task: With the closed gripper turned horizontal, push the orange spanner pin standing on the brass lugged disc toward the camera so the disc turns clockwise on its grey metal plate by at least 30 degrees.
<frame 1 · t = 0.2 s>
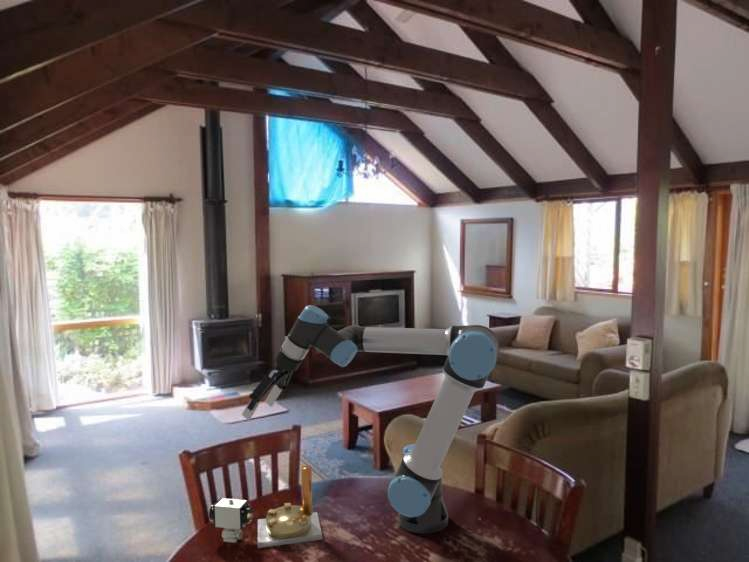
hand: (257, 410, 156), 35 cm above the table, tool tilted 35°, fingers open, 13 cm apart
brass lugged disc: (289, 497, 152), point 10 cm above the table, hinge at 0.0°
flange plate: (289, 531, 153), on the table
pneumatic valve: (233, 539, 150), on the table
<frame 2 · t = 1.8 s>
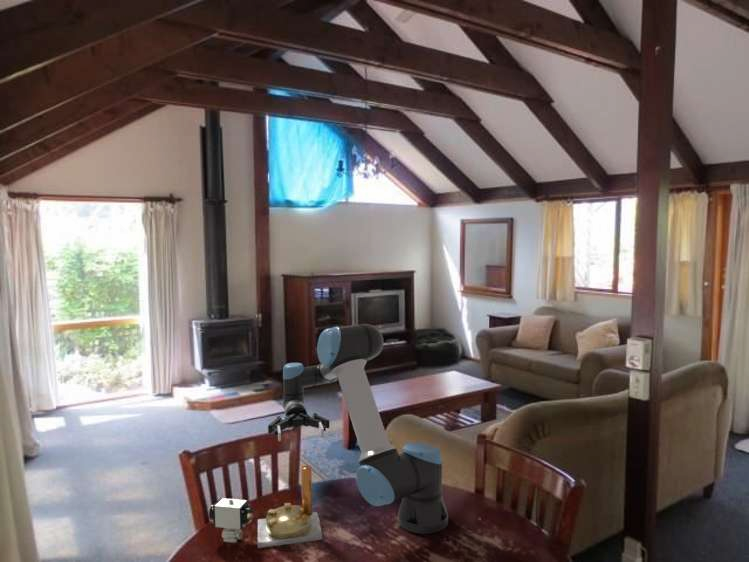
hand: (301, 435, 165), 24 cm above the table, tool horizontal, fingers open, 13 cm apart
nothing on the table moved.
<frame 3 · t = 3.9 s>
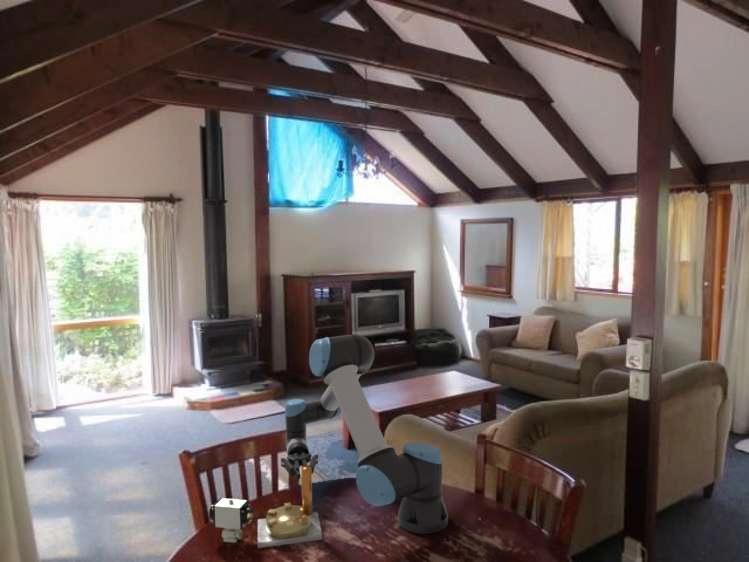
hand: (303, 480, 162), 11 cm above the table, tool horizontal, fingers closed
nothing on the table moved.
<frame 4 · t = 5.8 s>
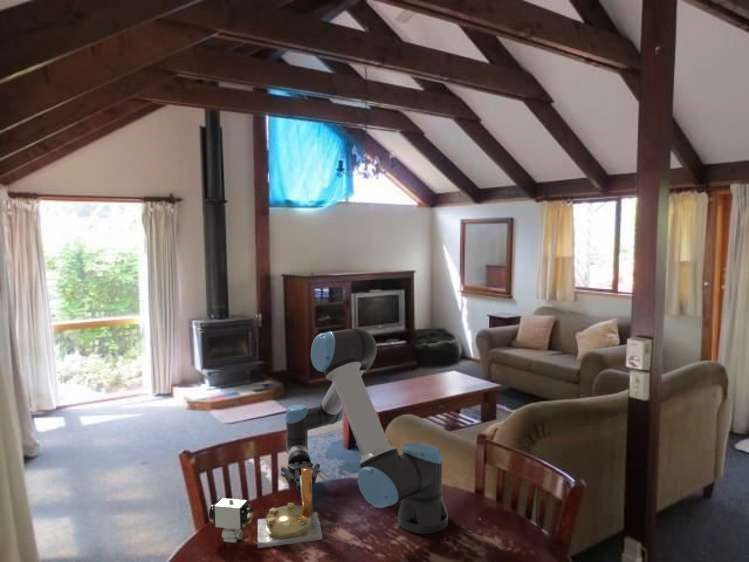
hand: (304, 492, 154), 11 cm above the table, tool horizontal, fingers closed
brass lugged disc: (289, 497, 152), point 10 cm above the table, hinge at 9.6°, touching gripper
everything else where it was.
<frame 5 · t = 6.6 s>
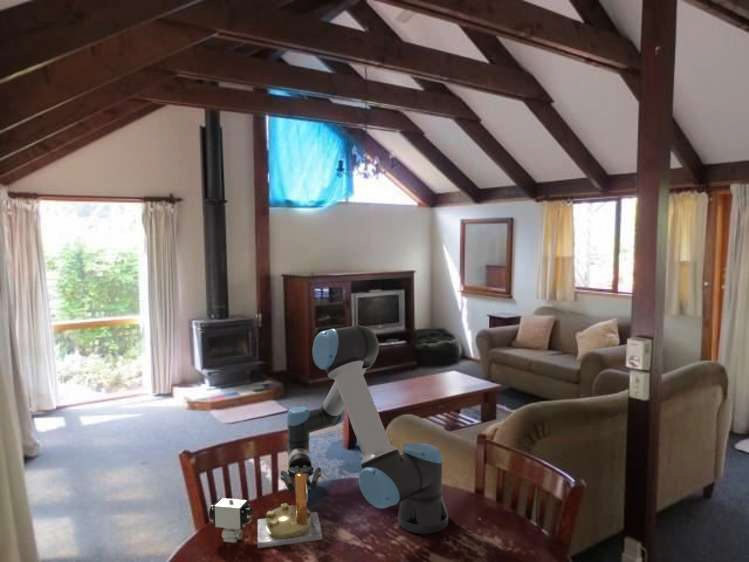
hand: (303, 497, 151), 11 cm above the table, tool horizontal, fingers closed
brass lugged disc: (288, 498, 152), point 10 cm above the table, hinge at 50.2°, touching gripper
everything else where it was.
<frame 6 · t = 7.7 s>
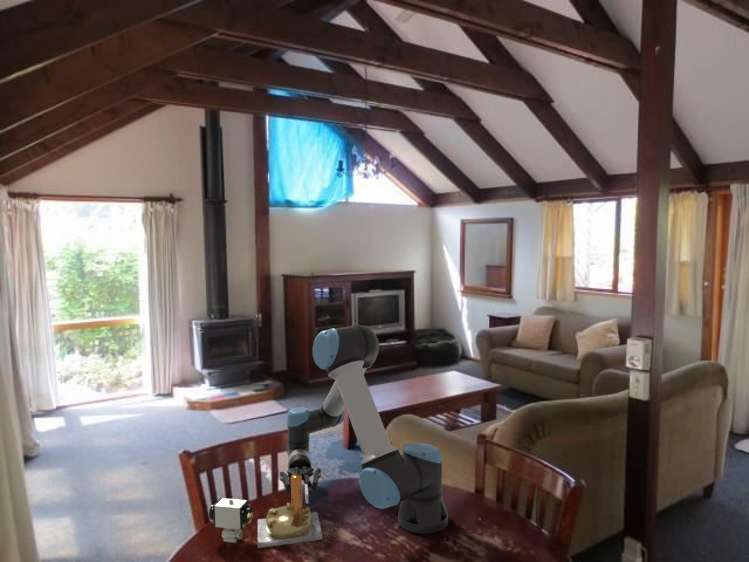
hand: (302, 499, 150), 11 cm above the table, tool horizontal, fingers closed
brass lugged disc: (288, 498, 152), point 10 cm above the table, hinge at 66.3°, touching gripper
everything else where it was.
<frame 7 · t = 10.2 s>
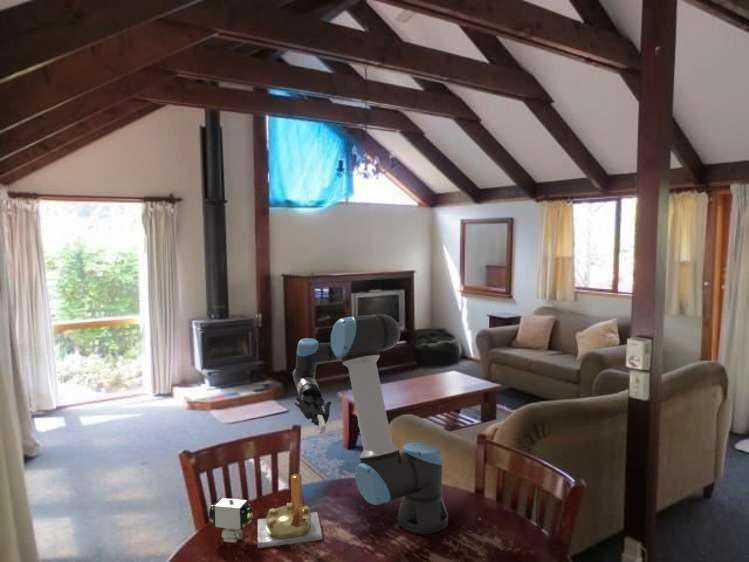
hand: (322, 429, 164), 26 cm above the table, tool horizontal, fingers closed
brass lugged disc: (288, 498, 152), point 10 cm above the table, hinge at 66.3°
everything else where it was.
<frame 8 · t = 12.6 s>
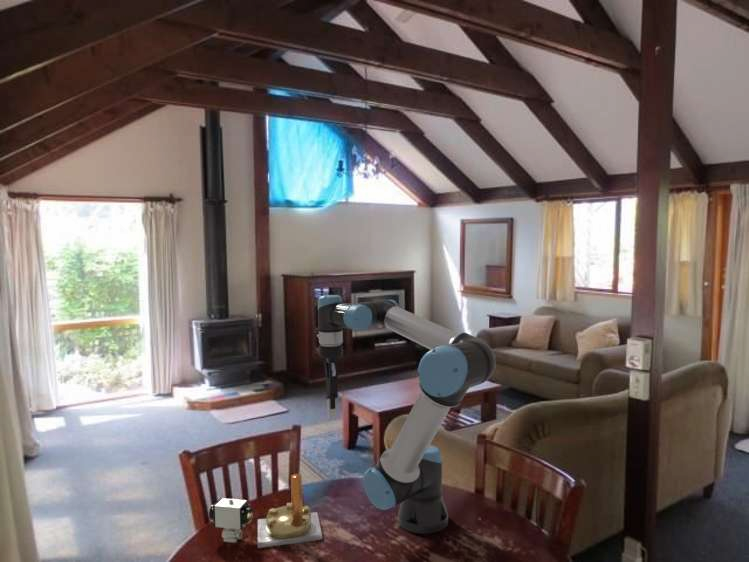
hand: (332, 417, 165), 29 cm above the table, tool pointing down, fingers closed
nothing on the table moved.
at the end: brass lugged disc at +66° (first picture: +0°); pneumatic valve moved 0.2 cm from its start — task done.
